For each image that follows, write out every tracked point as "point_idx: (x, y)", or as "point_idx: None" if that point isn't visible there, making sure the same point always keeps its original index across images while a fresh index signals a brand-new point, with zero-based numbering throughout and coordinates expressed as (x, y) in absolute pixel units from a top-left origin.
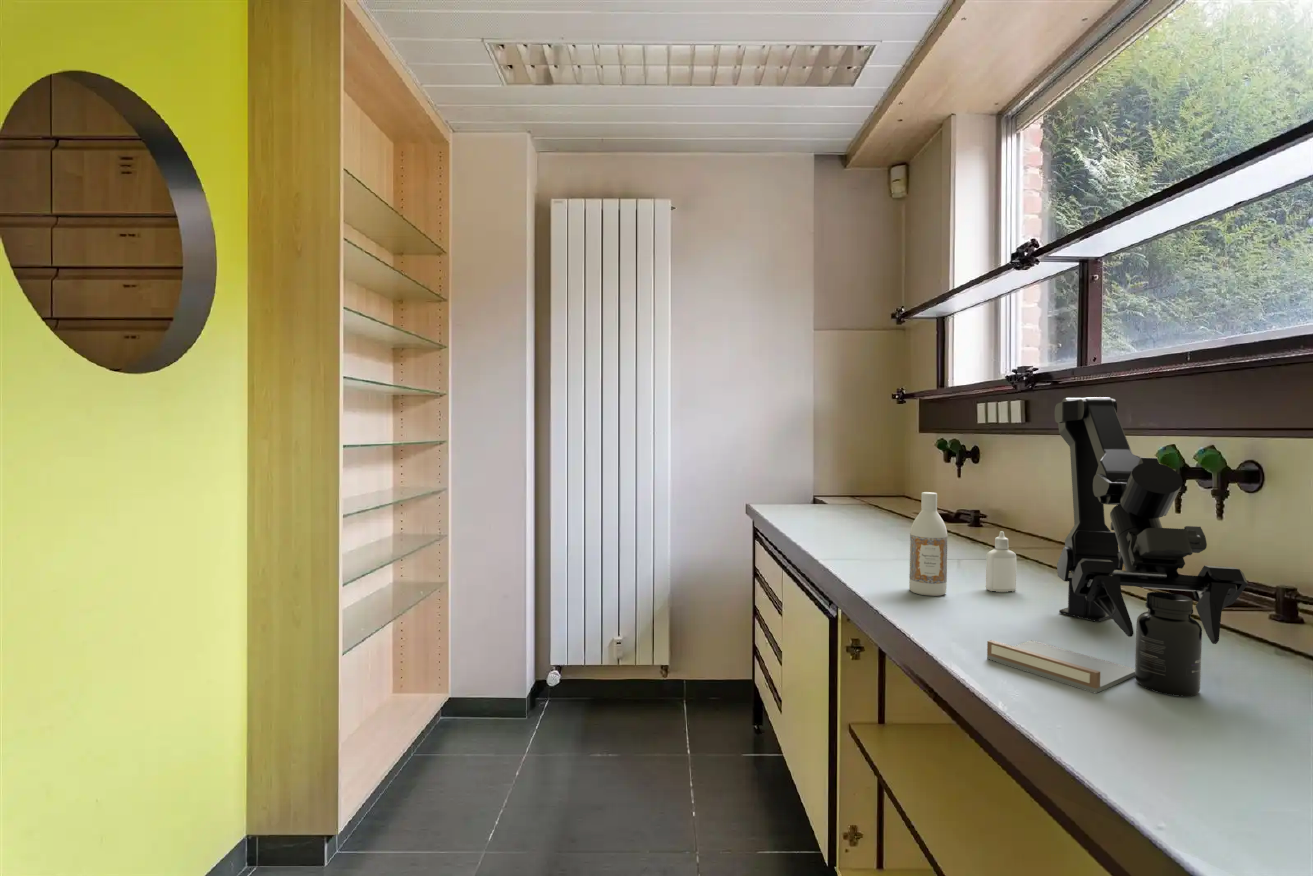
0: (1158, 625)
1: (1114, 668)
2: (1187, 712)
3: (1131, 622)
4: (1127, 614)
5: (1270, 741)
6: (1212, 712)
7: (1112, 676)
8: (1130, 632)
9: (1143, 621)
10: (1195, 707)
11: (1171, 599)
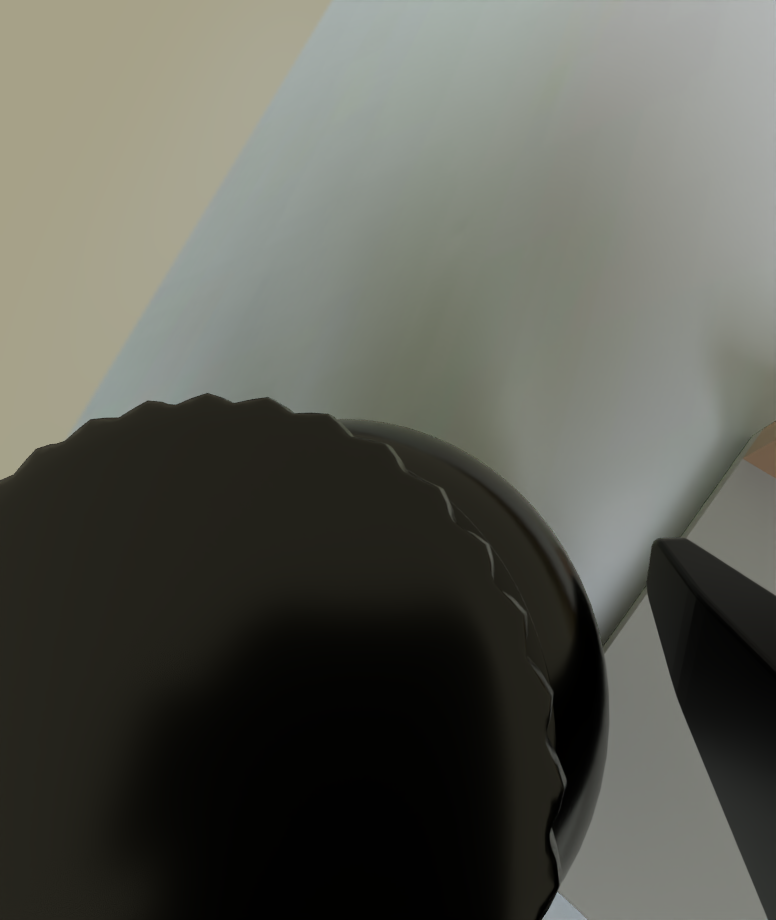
0: (477, 462)
1: (615, 810)
2: (427, 363)
3: (696, 595)
4: (771, 652)
5: (269, 222)
6: (336, 398)
7: (653, 651)
8: (681, 540)
9: (580, 597)
10: None
11: (256, 430)
